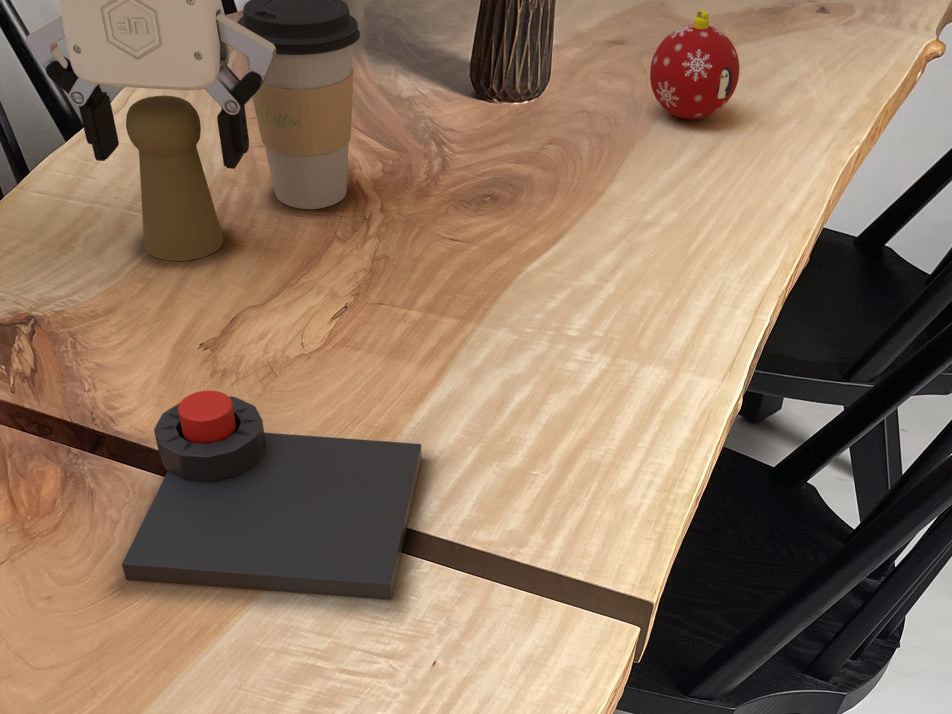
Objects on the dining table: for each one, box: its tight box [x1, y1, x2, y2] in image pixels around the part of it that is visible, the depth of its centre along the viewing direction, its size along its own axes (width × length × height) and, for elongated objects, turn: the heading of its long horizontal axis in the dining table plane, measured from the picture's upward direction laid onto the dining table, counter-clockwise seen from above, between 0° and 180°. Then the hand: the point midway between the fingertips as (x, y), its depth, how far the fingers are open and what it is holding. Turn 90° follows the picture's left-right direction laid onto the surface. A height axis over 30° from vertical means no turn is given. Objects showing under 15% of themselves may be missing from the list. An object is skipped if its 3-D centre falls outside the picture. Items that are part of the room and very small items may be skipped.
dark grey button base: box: [121, 395, 423, 601], centre depth 61 cm, size 15×13×3 cm
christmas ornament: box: [649, 9, 740, 120], centre depth 106 cm, size 9×9×10 cm
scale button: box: [178, 390, 236, 444], centre depth 63 cm, size 3×3×2 cm
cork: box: [125, 95, 224, 262], centre depth 82 cm, size 6×6×11 cm
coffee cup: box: [236, 0, 361, 210], centre depth 88 cm, size 9×9×15 cm
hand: (171, 157), depth 81 cm, fingers open, 9 cm apart
